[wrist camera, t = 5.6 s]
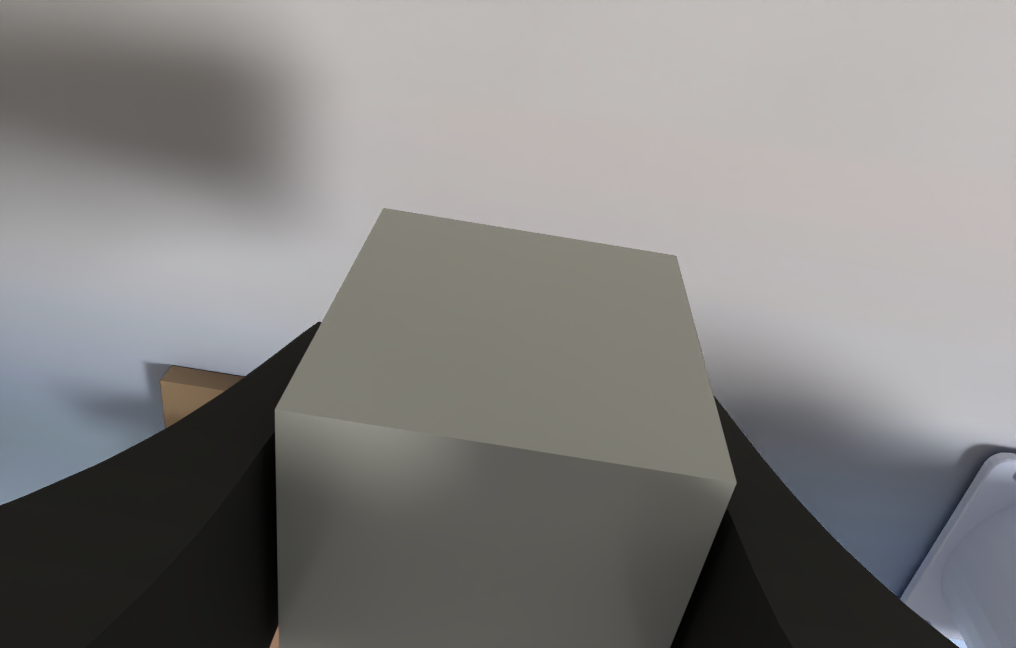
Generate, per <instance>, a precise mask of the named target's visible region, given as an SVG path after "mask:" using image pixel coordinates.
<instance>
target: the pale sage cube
mask: <svg viewBox="0 0 1016 648" xmlns="http://www.w3.org/2000/svg"><path fill="white" fill-rule="evenodd" d="M275 450H276V507H277V565H278V622H279V648H670V646H671V644H672V642H673V639H674V637H675V634H676V632H677V629H678V627H679V624H680V622H681V619H682V617H683V614H684V612H685V609H686V607H687V604H688V602H689V599H690V597H691V595H692V592H693V590H694V587H695V585H696V582H697V580H698V577H699V575H700V572H701V570H702V567H703V565H704V562H705V560H706V557H707V555H708V552H709V550H710V548H711V545H712V543H713V540H714V538H715V535H716V533H717V530H718V528H719V525H720V523H721V520H722V518H723V515H724V513H725V510H726V508H727V505H728V503H729V500H730V498H731V496H732V493H733V491H734V488H735V486H736V483H737V482H736V478H735V475H734V471H733V467H732V463H731V460H730V456H729V452H728V448H727V445H726V441H725V437H724V433H723V430H722V426H721V422H720V418H719V415H718V411H717V407H716V403H715V399H714V396H713V392H712V388H711V384H710V381H709V377H708V373H707V369H706V366H705V362H704V358H703V354H702V351H701V347H700V343H699V339H698V336H697V332H696V328H695V324H694V321H693V317H692V313H691V309H690V305H689V302H688V298H687V294H686V290H685V287H684V283H683V279H682V275H681V272H680V268H679V264H678V260H677V257H676V256H674V255H668V254H662V253H656V252H650V251H644V250H637V249H631V248H625V247H619V246H613V245H607V244H601V243H594V242H588V241H582V240H576V239H570V238H564V237H558V236H551V235H545V234H539V233H533V232H527V231H521V230H515V229H509V228H502V227H496V226H490V225H484V224H478V223H472V222H466V221H459V220H453V219H447V218H441V217H435V216H429V215H423V214H416V213H410V212H404V211H398V210H392V209H386V208H383V210H382V212H381V214H380V216H379V218H378V219H377V221H376V223H375V225H374V227H373V229H372V230H371V232H370V234H369V236H368V238H367V240H366V242H365V243H364V245H363V247H362V249H361V251H360V253H359V255H358V256H357V258H356V260H355V262H354V264H353V266H352V268H351V269H350V271H349V273H348V275H347V277H346V279H345V280H344V282H343V284H342V286H341V288H340V290H339V292H338V293H337V295H336V297H335V299H334V301H333V303H332V305H331V306H330V308H329V310H328V312H327V314H326V316H325V317H324V319H323V321H322V323H321V325H320V327H319V329H318V330H317V332H316V334H315V336H314V338H313V340H312V342H311V343H310V345H309V347H308V349H307V351H306V353H305V354H304V356H303V358H302V360H301V362H300V364H299V366H298V367H297V369H296V371H295V373H294V375H293V377H292V379H291V380H290V382H289V384H288V386H287V388H286V390H285V392H284V393H283V395H282V397H281V399H280V401H279V403H278V404H277V406H276V408H275Z"/></svg>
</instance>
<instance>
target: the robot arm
mask: <svg viewBox="0 0 1016 648" xmlns="http://www.w3.org/2000/svg"><path fill="white" fill-rule="evenodd" d="M321 323H322V322H318V323H316V324H315V325H313V326H312V327H310V328H309V329H308V330H306V331H305V332H303V333H302V334H301V335H299V336H298V337H297V338H296V339H294V340H293V341H292V342H290V343H289V344H288V345H286V346H285V347H284V348H283V349H281V350H280V351H279V352H277V353H276V354H275V355H273V356H272V357H271V358H269V359H268V360H267V361H265V362H264V363H263V364H261V365H260V366H259V367H257V368H256V369H255V370H253V371H252V372H250V373H249V374H248V375H246V376H245V377H243V378H242V379H241V380H239V381H238V382H236V383H235V384H234V385H232V386H231V387H230V388H228V389H227V390H225V391H224V392H222V393H221V394H219V395H218V396H217V397H215V398H214V399H212V400H210V401H209V402H207V403H206V404H204V405H203V406H201V407H199V408H198V409H196V410H195V411H193V412H192V413H190V414H188V415H187V416H185V417H184V418H182V419H181V420H179V421H178V422H176V423H174V424H173V425H171V426H169V427H167V428H166V429H164V430H162V431H160V432H159V433H157V434H155V435H153V436H152V437H150V438H148V439H146V440H144V441H142V442H140V443H138V444H137V445H135V446H133V447H131V448H129V449H127V450H125V451H123V452H121V453H119V454H117V455H115V456H113V457H111V458H109V459H107V460H105V461H103V462H101V463H99V464H97V465H95V466H93V467H90V468H88V469H86V470H83V471H81V472H79V473H77V474H74V475H72V476H70V477H67V478H65V479H63V480H60V481H58V482H56V483H54V484H51V485H49V486H47V487H44V488H42V489H40V490H37V491H35V492H33V493H31V494H28V495H26V496H24V497H21V498H18V499H16V500H13V501H11V502H8V503H5V504H3V505H0V648H270V645H271V643H272V640H273V637H274V635H275V632H276V630H277V627H278V625H279V622H278V565H277V507H276V450H275V408H276V406H277V404H278V403H279V401H280V399H281V397H282V395H283V393H284V392H285V390H286V388H287V386H288V384H289V382H290V380H291V379H292V377H293V375H294V373H295V371H296V369H297V367H298V366H299V364H300V362H301V360H302V358H303V356H304V354H305V353H306V351H307V349H308V347H309V345H310V343H311V342H312V340H313V338H314V336H315V334H316V332H317V330H318V329H319V327H320V325H321ZM713 396H714V395H713ZM714 399H715V403H716V407H717V411H718V415H719V418H720V422H721V426H722V430H723V433H724V437H725V441H726V445H727V448H728V452H729V456H730V460H731V463H732V467H733V471H734V475H735V478H736V482H737V483H736V486H735V488H734V491H733V493H732V496H731V498H730V500H729V503H728V505H727V508H726V510H725V513H724V515H723V518H722V520H721V523H720V525H719V528H718V530H717V533H716V535H715V538H714V540H713V543H712V545H711V548H710V550H709V552H708V555H707V557H706V560H705V562H704V565H703V567H702V570H701V572H700V575H699V577H698V580H697V582H696V585H695V587H694V590H693V592H692V595H691V597H690V599H689V602H688V604H687V607H686V609H685V612H684V614H683V617H682V619H681V622H680V624H679V627H678V629H677V632H676V634H675V637H674V639H673V642H672V644H671V646H670V648H959V647H958V646H956V645H955V644H954V643H953V642H951V641H950V640H949V639H948V638H951V639H958V640H964V642H965V643H966V645H967V647H968V648H1016V473H1015V472H1016V454H1014V453H998V454H994V455H993V456H991V457H989V458H988V459H987V460H986V461H985V462H984V464H983V466H982V467H981V469H980V470H979V472H978V474H977V475H976V477H975V478H974V480H973V482H972V483H971V485H970V487H969V488H968V490H967V491H966V493H965V495H964V496H963V498H962V499H961V501H960V503H959V504H958V506H957V507H956V509H955V511H954V512H953V514H952V516H951V517H950V519H949V520H948V522H947V524H946V525H945V527H944V528H943V530H942V532H941V533H940V535H939V536H938V538H937V540H936V541H935V543H934V545H933V546H932V548H931V549H930V551H929V553H928V554H927V556H926V557H925V559H924V561H923V562H922V564H921V565H920V567H919V569H918V570H917V572H916V574H915V575H914V577H913V578H912V580H911V582H910V583H909V585H908V586H907V588H906V590H905V591H904V593H903V594H902V596H901V598H900V599H899V598H898V597H897V596H895V595H894V594H893V593H892V592H891V591H890V590H888V589H887V588H886V587H885V586H884V585H883V584H882V583H881V582H880V581H879V580H877V579H876V578H875V577H874V576H873V575H872V574H871V573H870V572H869V571H868V570H867V569H866V568H865V567H863V566H862V565H861V564H860V563H859V562H858V561H857V560H856V559H855V558H854V557H853V556H852V555H851V554H850V553H848V552H847V551H846V550H845V549H844V548H843V547H842V546H841V545H840V544H839V543H838V542H837V541H836V540H835V539H834V538H833V537H832V536H831V535H830V534H829V533H828V532H827V531H826V529H825V528H824V527H823V526H822V525H821V524H820V523H819V522H818V521H817V520H816V519H815V518H814V517H813V515H812V514H811V513H810V512H809V511H808V510H807V509H806V508H805V507H804V506H803V505H802V504H801V503H800V501H799V500H798V499H797V498H796V497H795V496H794V495H793V494H792V492H791V491H790V490H789V489H788V488H787V487H786V485H785V484H784V483H783V482H782V481H781V480H780V478H779V477H778V476H777V475H776V474H775V473H774V471H773V470H772V469H771V468H770V467H769V465H768V464H767V463H766V462H765V460H764V459H763V458H762V457H761V456H760V454H759V453H758V452H757V450H756V449H755V448H754V447H753V445H752V444H751V443H750V442H749V440H748V439H747V438H746V437H745V435H744V434H743V433H742V431H741V430H740V429H739V428H738V426H737V425H736V424H735V422H734V421H733V420H732V418H731V417H730V416H729V415H728V413H727V412H726V411H725V409H724V408H723V407H722V405H721V404H720V403H719V402H718V400H717V399H716V398H715V396H714Z"/></svg>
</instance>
